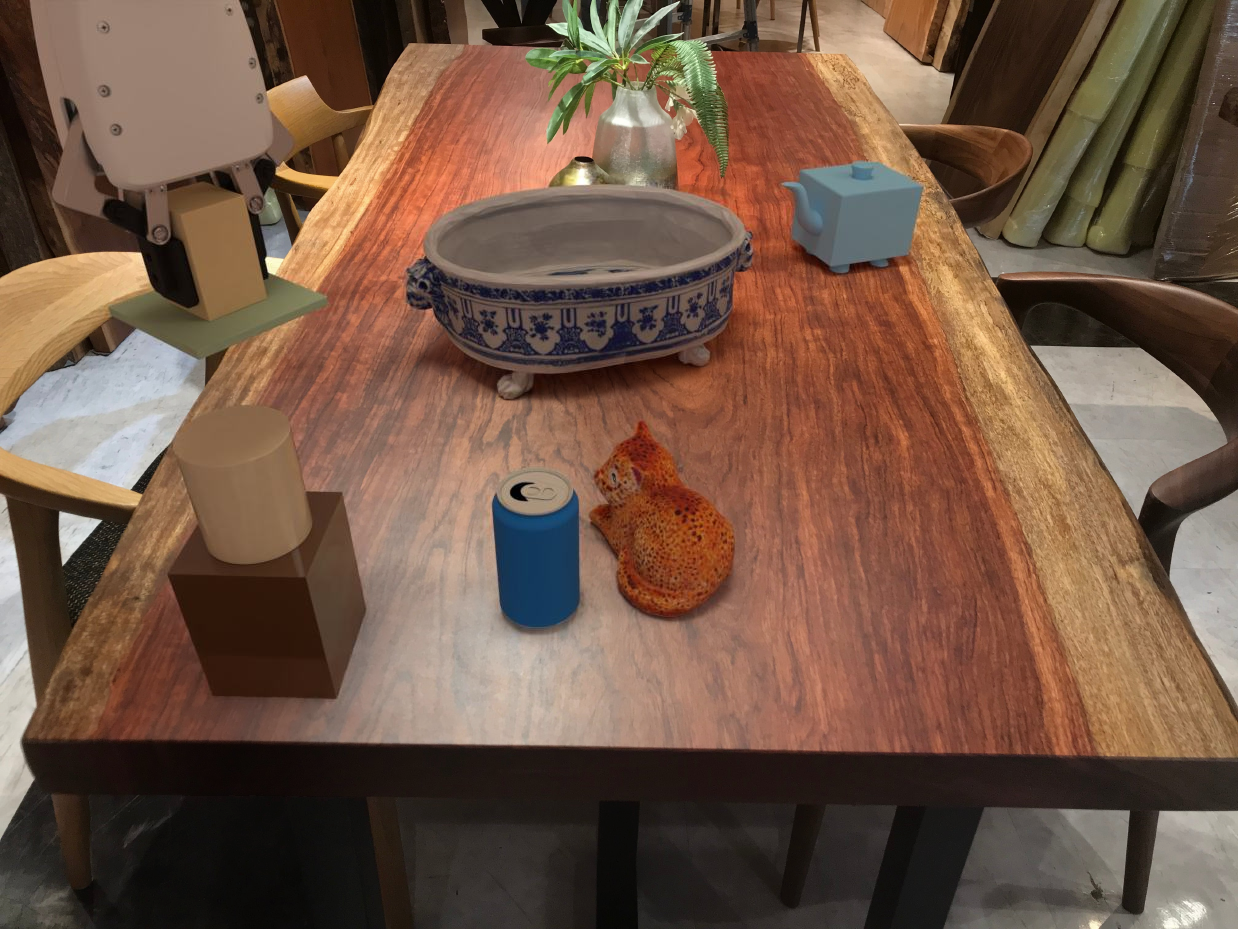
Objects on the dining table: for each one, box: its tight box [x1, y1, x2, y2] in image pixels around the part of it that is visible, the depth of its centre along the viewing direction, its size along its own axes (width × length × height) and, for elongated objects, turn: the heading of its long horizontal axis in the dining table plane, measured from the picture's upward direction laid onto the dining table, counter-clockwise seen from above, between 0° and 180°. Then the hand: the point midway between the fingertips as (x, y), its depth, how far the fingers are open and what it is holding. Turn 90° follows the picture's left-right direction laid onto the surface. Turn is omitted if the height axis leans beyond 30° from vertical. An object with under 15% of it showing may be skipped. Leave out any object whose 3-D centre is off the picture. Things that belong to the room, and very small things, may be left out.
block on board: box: [107, 181, 329, 361], centre depth 52 cm, size 9×9×7 cm
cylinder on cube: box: [166, 404, 367, 699], centre depth 62 cm, size 9×9×20 cm
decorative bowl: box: [404, 183, 755, 400], centre depth 105 cm, size 42×27×15 cm, turn 110°
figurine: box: [588, 420, 736, 618], centre depth 75 cm, size 15×11×10 cm
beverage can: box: [491, 466, 581, 629], centre depth 69 cm, size 6×6×12 cm
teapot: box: [780, 160, 925, 274], centre depth 127 cm, size 22×11×14 cm, turn 111°
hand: (214, 284), depth 54 cm, fingers closed on block on board, 4 cm apart
